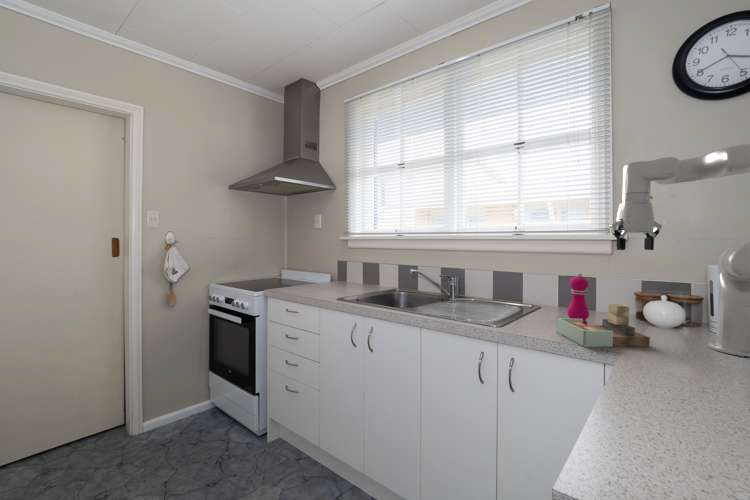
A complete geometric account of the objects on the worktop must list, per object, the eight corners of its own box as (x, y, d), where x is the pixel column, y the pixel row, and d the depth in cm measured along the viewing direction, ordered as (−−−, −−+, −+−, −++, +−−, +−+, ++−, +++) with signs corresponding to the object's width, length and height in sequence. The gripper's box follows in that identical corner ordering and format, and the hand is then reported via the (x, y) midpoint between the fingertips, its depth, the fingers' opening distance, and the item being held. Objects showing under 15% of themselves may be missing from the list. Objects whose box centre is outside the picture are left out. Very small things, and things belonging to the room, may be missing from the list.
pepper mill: (592, 327, 129) (594, 274, 128) (573, 327, 129) (575, 273, 128) (581, 322, 136) (583, 272, 135) (563, 322, 136) (564, 271, 136)
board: (617, 334, 121) (618, 325, 121) (649, 347, 107) (649, 337, 107) (583, 333, 121) (583, 325, 121) (610, 346, 107) (610, 336, 107)
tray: (581, 332, 122) (582, 318, 122) (612, 347, 106) (613, 331, 106) (556, 332, 122) (556, 318, 122) (583, 347, 106) (584, 330, 106)
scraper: (612, 326, 119) (613, 302, 119) (636, 335, 108) (637, 308, 108) (600, 326, 119) (601, 301, 119) (623, 335, 108) (624, 308, 108)
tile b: (579, 322, 119) (571, 321, 119) (586, 325, 115) (578, 325, 115) (578, 333, 119) (571, 333, 119) (585, 337, 115) (578, 336, 115)
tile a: (590, 326, 113) (582, 326, 113) (598, 330, 109) (590, 330, 109) (590, 339, 113) (582, 338, 113) (597, 342, 109) (589, 342, 109)
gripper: (651, 200, 121) (650, 249, 122) (603, 200, 121) (602, 249, 121) (670, 198, 114) (669, 250, 114) (619, 197, 113) (618, 250, 114)
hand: (634, 249), depth 118 cm, fingers open, 9 cm apart
